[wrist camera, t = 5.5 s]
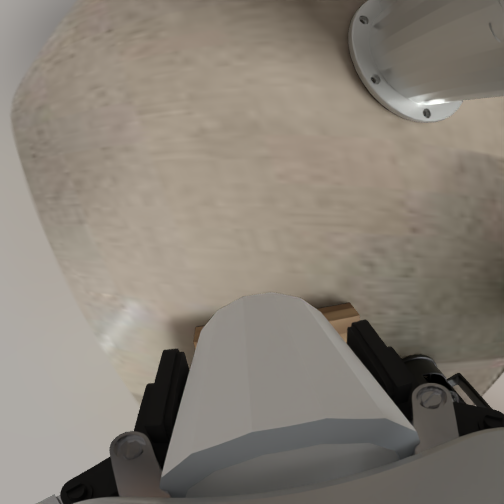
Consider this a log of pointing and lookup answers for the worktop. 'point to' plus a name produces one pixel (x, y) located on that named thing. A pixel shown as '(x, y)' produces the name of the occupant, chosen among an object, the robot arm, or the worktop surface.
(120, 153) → the worktop surface
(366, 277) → the worktop surface
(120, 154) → the worktop surface
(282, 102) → the worktop surface
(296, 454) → the white tapered cylinder
